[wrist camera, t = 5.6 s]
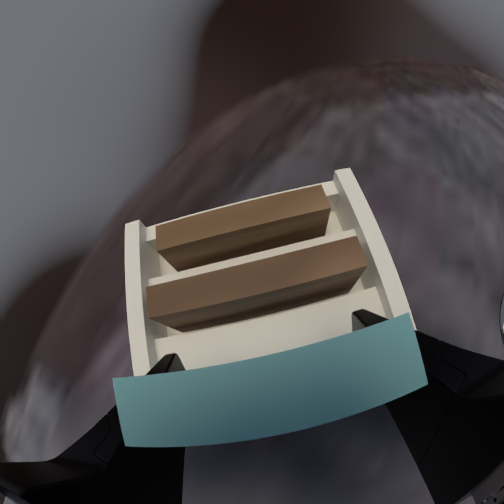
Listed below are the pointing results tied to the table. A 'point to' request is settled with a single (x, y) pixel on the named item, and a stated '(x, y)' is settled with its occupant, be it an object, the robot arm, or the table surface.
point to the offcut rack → (272, 325)
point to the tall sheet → (272, 390)
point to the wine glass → (502, 319)
